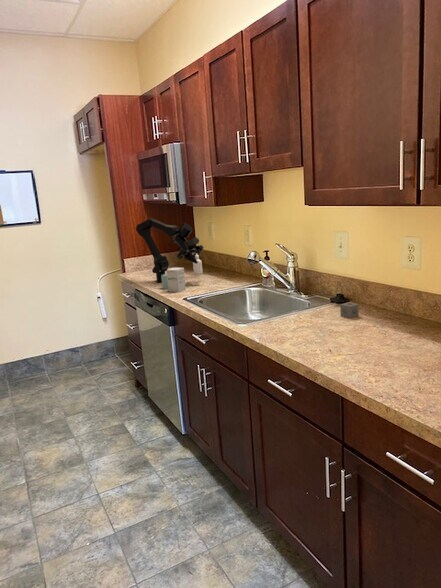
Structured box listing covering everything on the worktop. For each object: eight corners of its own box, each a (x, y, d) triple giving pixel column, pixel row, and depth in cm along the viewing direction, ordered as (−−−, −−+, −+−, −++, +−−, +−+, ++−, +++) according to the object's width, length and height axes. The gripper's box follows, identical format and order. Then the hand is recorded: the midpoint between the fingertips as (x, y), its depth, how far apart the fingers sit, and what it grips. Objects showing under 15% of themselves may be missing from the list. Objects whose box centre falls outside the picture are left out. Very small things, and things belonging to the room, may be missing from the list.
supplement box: (168, 291, 255) (165, 269, 253) (175, 288, 262) (173, 267, 259) (179, 292, 252) (176, 269, 249) (186, 289, 258) (184, 267, 255)
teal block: (162, 288, 265) (161, 275, 263) (168, 286, 269) (167, 273, 267) (168, 289, 262) (167, 275, 260) (174, 287, 266) (173, 274, 264)
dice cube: (358, 316, 184) (358, 304, 183) (350, 318, 181) (349, 306, 180) (349, 313, 188) (348, 302, 187) (340, 316, 185) (340, 304, 184)
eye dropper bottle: (196, 274, 263) (194, 254, 260) (193, 273, 268) (191, 253, 265) (203, 273, 264) (201, 253, 262) (200, 272, 270) (198, 252, 267)
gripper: (178, 235, 256) (195, 255, 252) (199, 231, 270) (215, 250, 266) (169, 249, 262) (186, 269, 258) (190, 244, 277) (206, 263, 273)
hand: (199, 262), depth 264 cm, fingers closed on eye dropper bottle, 3 cm apart
